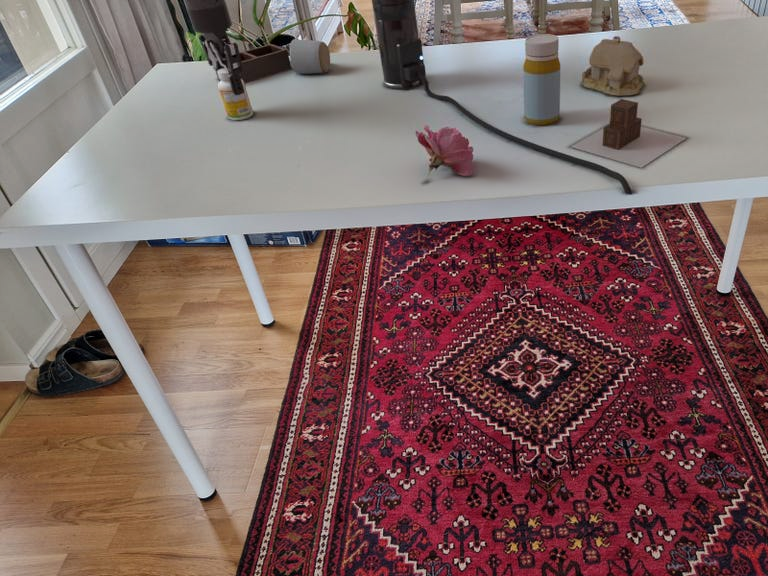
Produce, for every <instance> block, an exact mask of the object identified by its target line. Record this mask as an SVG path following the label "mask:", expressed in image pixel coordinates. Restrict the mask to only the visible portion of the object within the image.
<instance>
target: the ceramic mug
mask: <svg viewBox="0 0 768 576" xmlns="http://www.w3.org/2000/svg"><path fill="white" fill-rule="evenodd" d="M289 60H290V64H291V67H292V70H293V71H294V73H296V74H301V75H302V74H305V75H306V74H324V73H327V72H328V71H329V69H330V67H331V54H330V49H329V46H328V45H327V43H326V42H325V41H322V40H311V39H310V40H309V39H297V38H293V39H292V40H291V42H290V45H289Z"/></svg>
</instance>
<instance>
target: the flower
mask: <svg viewBox="0 0 768 576" xmlns="http://www.w3.org/2000/svg"><path fill="white" fill-rule="evenodd" d="M423 130H425V132H426V133H427V134H426V133H424V132H422V131H418V130H415V132H414V133H415V136H416V138H417V142H418V143H419V144H420V146H422V147H423V148H424V149H425V151H426V152H427V154H428V155H429V156H430V158H428V161H429V162H430V163H429V165H428V167H429V171H428V175H427V178H425V181H424V182H425V183H426V182H427V180H428V179H429V176H430V173H431V171H432V170H433V169H435V171H437V169H439V167H441V166H443V167H451V169H452V170H453V171H454V172H455V173H456V174H458V175H460V176H462V177H468V176H471V175H473V172H474V162H473V160H474V153H473V152H474V147H473V146H469V145H470V140H469V139H468V138H466V136H463V134H462V133H461V132H460V131H459V130H458V129H457V127H454V128H451V127H450V126H445V127H441V128H439V130H438V131H433V130H431V129H430V127H429V125H428V124H426V125H424V127H423Z"/></svg>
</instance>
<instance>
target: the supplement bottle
mask: <svg viewBox="0 0 768 576" xmlns="http://www.w3.org/2000/svg"><path fill="white" fill-rule="evenodd" d="M233 68H234V67H233ZM217 73H218V76H219V79H221V81H220V82H219V81H218V83H217V87H218V90H219V94H220V96H221V100H222V103H223V105H224V109H225V112H226V115H227V117H228V119H229V120H232V121H243V120H247V119H249V118H251V117H252V116H253V114H254V111H253V108H252V104H251V100H250V97H249V94H248V92H247V87H246V83H244V81H243V80H242V79H241V82H242V85H243V88H244V93H243V94H240V95H235V94H234V93H233V91H232V87H231V84H230V81H229V78H228V75H227V73H226V70H225V68H222V69H220V70H218V71H217ZM219 79H218V80H219Z"/></svg>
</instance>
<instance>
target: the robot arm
mask: <svg viewBox="0 0 768 576" xmlns="http://www.w3.org/2000/svg"><path fill="white" fill-rule="evenodd" d="M183 2H184V4H185V8H186V11H187V13H188V16H189V20H190V22H191V25H192V29H193V31H194V32H196V33H197V34H199V35H198V40H199V42H200V44H201V47H202V50H203V52H204V55H205V57H206V60H207V62H208V66H210V67H212V69H213V71H215V74H216V73H217V71H218V70H220V69H222V68H225V70H226V73H227V75H228V78H229V81H230V84H231V87H232V91H233V93H234V94H235V95H240V94H243V93H244V88H243V85H242V82H241V78H240V75H239V74H241V73H243V67H242V62H241V58H240V53H239V52H240V50H239V49H240V48H239V46H238V43H237V42H232V41H231V39H230V37H229V35H228V33H227V30H228V29H230V28H232V25H233V22H232V18H231V15H230V12H229V8H228V5H227V2H226V0H183ZM415 4H416V3H415V0H371V6H372V12H373V19H374V24H375V25H374V26H375V33H376V38H377V44H378V50H379V58H380V62H381V69H382V76H383V84H384V86H385V87H387V88H390V89H399V90H400V89H402V90H409V89H411V88H414V87H416V86H420V85H423V87H424V91H425V93H426V95H428V97H430V98H433V99H435V100H439V101H446V102H448V103H449V104H451V105H453V106H454V107H455V108H456V109H457V110H458V111H459V112H460V113H462V114H464V115H465V116H466V117H468V118H469V119H470V120H472V121H473V122H475V123H476V124H478V126H479V125H480V126H481V127H483V128H485V129H486V130H488V131H490V132H492V133H493V134H496V135H498V136H500V137H502V138H504V139H506V140H508V141H510V142H514V143H516V144H518V145H521V146H524V147H526V148H529V149H532V150H533V151H534V150H535V151H537V152H540V153H542V154H545V155H549V156H551V157H554V158H558V159H559V160H563V161H567V162H569V163H571V164H576V165H578V166H582V167H586V168H587V169H592V170H595V171H597V172H600V173H602V174H603V175H606V176H607V177H611V178H613V179H615V180H617V181H618V182H619V183H620V185H621V186H622V189H623V190H624V193H625V194H626V195H632V194H633V191H632V189H631V186H630V184H629V183H628V181H627V179H626V178H625V177H624V176H623V175H622V174H621V173H619V172H617V171H615V170H612V169H610V168H608V167H605V166H603V165H601V164H598V163H595V162H592V161H589V160H586V159H582V158H579V157H576V156H573V155H570V154H566V153H564V152H561V151H558V150H554V149H552V148H548V147H546V146H542V145H539V144H537V143H535V142H531V141H529V140H525V139H523V138H521V137H517V136H515V135H513V134H511V133H508V132H505V130H502V129H499V128H497V127H495V126H493V125H491V124H489V123H488V122H487V121H484V120H483V119H481V118H480V117H478V116H477V115H475V114H473V113H472V112H470V111H469V110H468V109H467V108H465V107H463V105H461V104H460V103H459V102H458V101H456V100H455V99H454V98H452V97H450V96H448V95H443V94H441V95H440V94H436V93H434V92H432V91H431V89H430V87H429V82H428V80H427V77H426V76H427V72H426V66H425V61H424V53H423V44H422V39H421V38H420V37H419V29H418V20H417V11H416V5H415ZM225 59H227V60H225ZM233 66H234V68H233ZM217 76H218V73H217V74H216V77H217ZM217 80H218V83H219V82H220V81H221V79H219V76H218V78H217Z"/></svg>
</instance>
